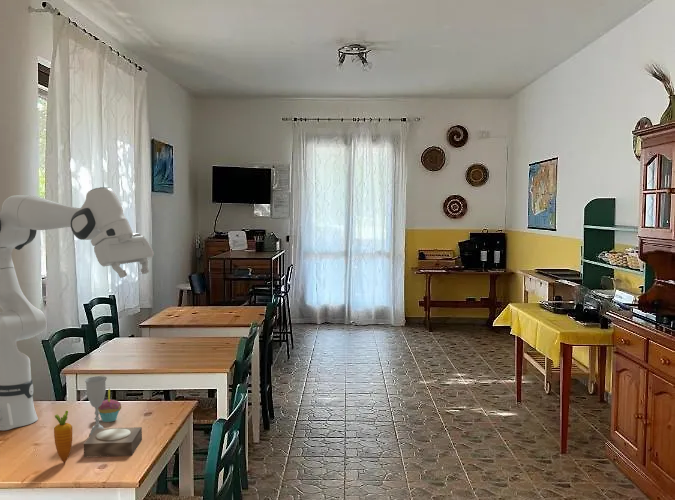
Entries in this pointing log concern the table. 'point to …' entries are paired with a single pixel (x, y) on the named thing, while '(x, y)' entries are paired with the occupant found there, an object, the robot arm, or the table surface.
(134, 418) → the table surface
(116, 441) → the walnut plinth
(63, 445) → the carrot
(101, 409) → the cupcake
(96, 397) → the chalice
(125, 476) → the table surface
